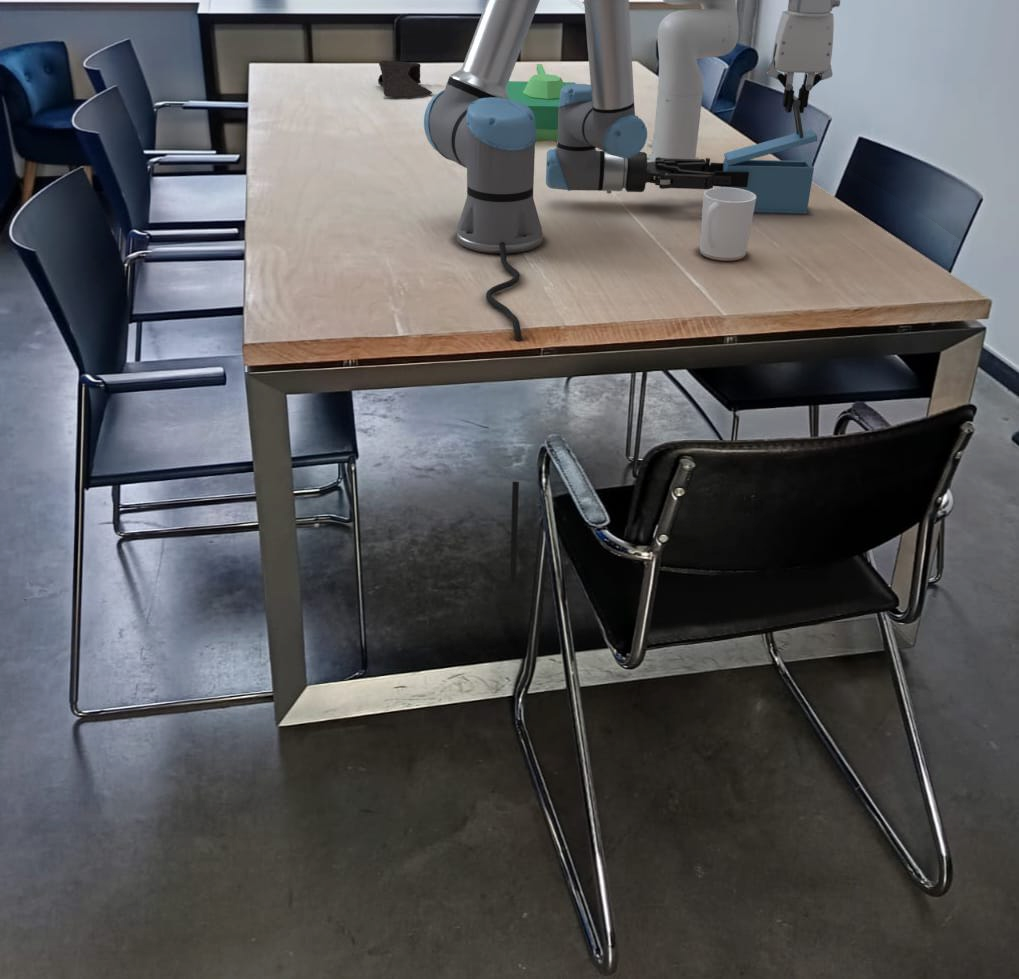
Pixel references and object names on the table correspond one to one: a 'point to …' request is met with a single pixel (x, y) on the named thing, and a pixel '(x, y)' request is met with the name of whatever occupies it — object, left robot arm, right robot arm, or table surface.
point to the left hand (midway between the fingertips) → (745, 175)
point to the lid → (775, 141)
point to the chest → (777, 184)
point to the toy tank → (540, 101)
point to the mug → (726, 222)
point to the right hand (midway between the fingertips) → (793, 110)
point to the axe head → (401, 79)
